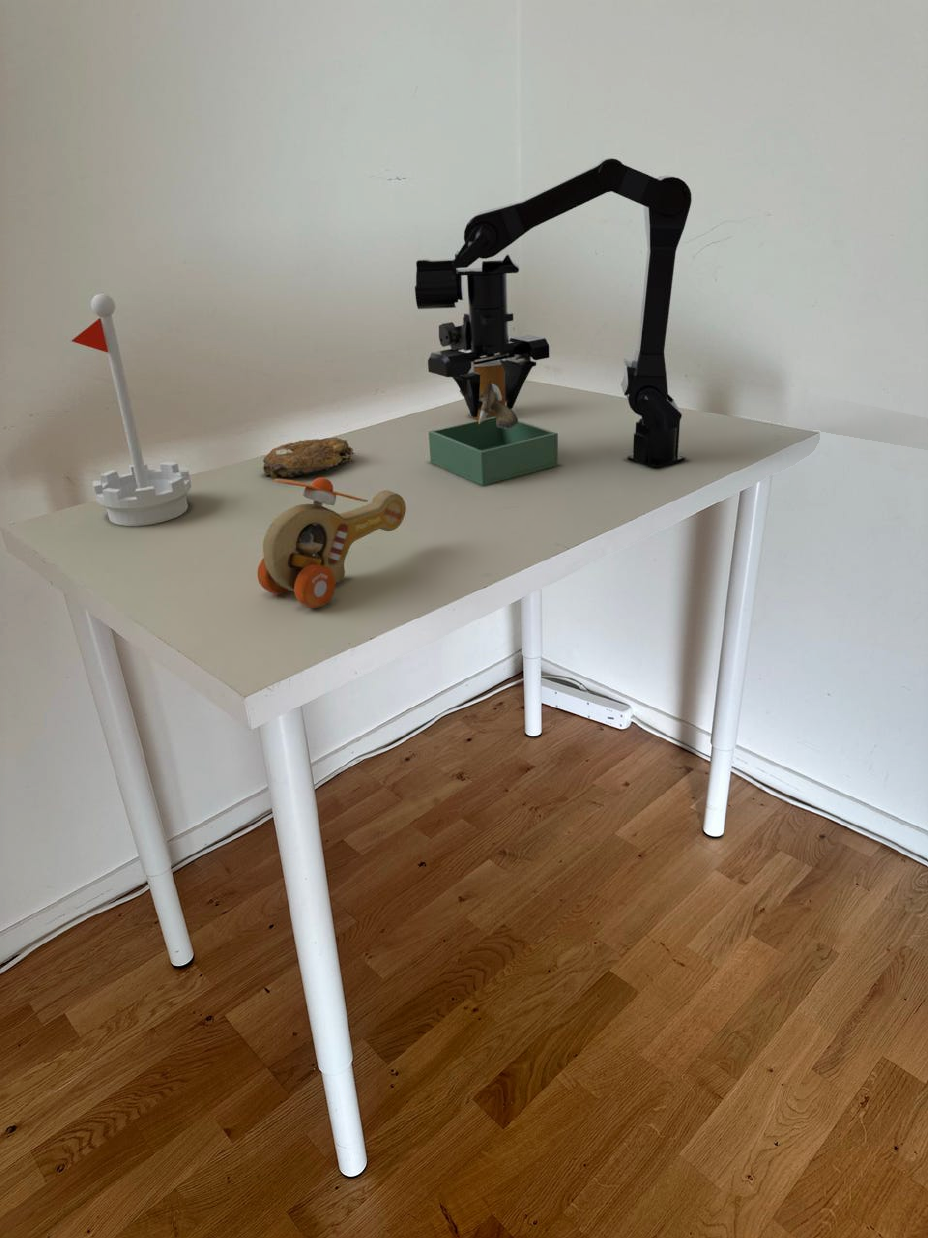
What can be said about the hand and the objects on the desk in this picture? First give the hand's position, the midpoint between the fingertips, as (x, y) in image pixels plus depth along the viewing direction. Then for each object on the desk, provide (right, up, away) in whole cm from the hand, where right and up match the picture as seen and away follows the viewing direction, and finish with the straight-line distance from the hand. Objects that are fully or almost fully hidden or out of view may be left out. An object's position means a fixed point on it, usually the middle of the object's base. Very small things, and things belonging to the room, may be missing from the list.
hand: (492, 412), depth 140 cm
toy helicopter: (-19, -27, -32) cm, 46 cm away
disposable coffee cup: (0, +6, +30) cm, 30 cm away
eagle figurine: (0, -2, +1) cm, 2 cm away
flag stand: (-50, -16, -8) cm, 53 cm away
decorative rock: (-29, -7, +7) cm, 31 cm away
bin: (0, -7, +4) cm, 8 cm away
